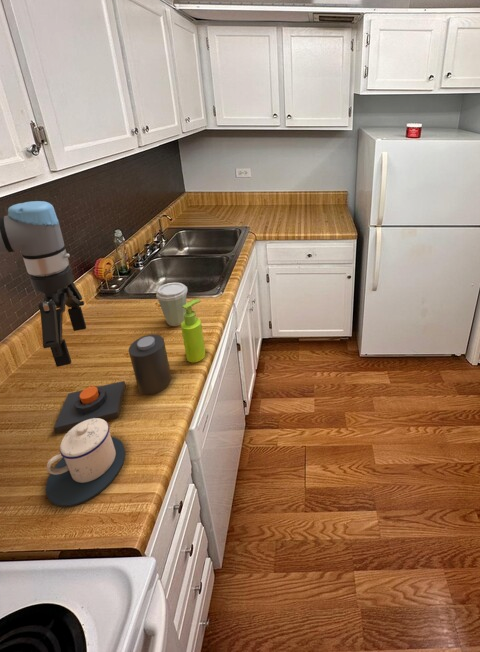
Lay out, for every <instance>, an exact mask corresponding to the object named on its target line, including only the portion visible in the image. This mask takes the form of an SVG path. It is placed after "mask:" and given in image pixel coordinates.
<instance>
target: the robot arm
mask: <svg viewBox="0 0 480 652" xmlns="http://www.w3.org/2000/svg"><path fill="white" fill-rule="evenodd" d="M19 251H20V253H21V255H22V259H23V262H24V265H25V268H26V272H27V274H29V276H28V277H29V281H30V282H31V286H32V289H33V290H34V291H35V292H38V293H42V294H43V295H44V296H43V301H42V302H39V303H38V310H39V312H40V323H41V324H40V325H41V335H42V347H43V349H49V348H50V351H51V354H52V357H53V360H54V363H55V366H56V368H57V367H63V366H68V365H71V364H72V358H71V355H70V351H69V349H68V346H67V343H66V339H65V338H63V325H64V324H63V323H64V322H63V316H64V315H63V313H65V311H66V307H68V309H67V314H68V316H69V319H70V323H71V326H72V330H73V332H76V331H77V332H78V331H83V330H86V329H87V323H86V320H85V317H84V314H83V310H82V306H85V300H83V297H82V294H81V293H80V291H79V289H78V287H77V286H76V284H75V283H74V279H75V277H74V274H73V270H72V267H71V265H70V260H69V258H70V257H71V255H70V253H67V250H66V246H65V241H64V236H63V233H62V230H61V226H60V221H59V219H58V217H57V214H56V210H55V208H54V206H53V204H52V203H50V202H47V201H42V200H35V201H33V200H32V201H25V202H22V203H21V202H19V203H16V204H13V205H11V206H9V207H8V209H7V215H4V216H0V255H3V254H8V253H13V252H19Z"/></svg>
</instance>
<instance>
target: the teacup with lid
mask: <svg viewBox="0 0 480 652" xmlns="http://www.w3.org/2000/svg"><path fill="white" fill-rule="evenodd" d="M111 437H112V436H111V432H110V425H109V423H108V421H105V420H103V419H100V418H92V419H88V420H85V421H83V422H81V423H79V424H77V425H76V426H74V427H73V428H72V429H71V430H68V431H67V433H65V435H64V436H63V438H62V440H61V442H60V445H59V453H57V454H56V455H54V456H52V457H51V458H50V459H48V462H47V463H46V471H47V472H48V473H49V474H54V475H57V474H62V473H64V472H67V471H70V474H71V476H72V478H73V479H74V480H75V481H76V482H80V483H84V482H89V481H92V480H94V479H96V478H98V477H100V476H101V475H102V474H104V473H105V472H106V471H107V470H108V469H109V468H110V466H111V465H112V463H113V461H114V459H115V455H116V451H115V448H114V444H113V441H112V438H111ZM63 457H64V459H65V461H66V464H67V466H64V467H62V468H54V467H53V466H52V465H53V464H55V463H56V462H58V461H60V460H61V459H62V458H63Z"/></svg>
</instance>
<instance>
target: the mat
mask: <svg viewBox="0 0 480 652" xmlns="http://www.w3.org/2000/svg"><path fill="white" fill-rule="evenodd" d="M111 438H112V441H113V444H114V448H115V451H116V455H115V459H114V461H113V463H112V465H111V466H110V468H109V469H108V470H107V471H106V472H105V473H104V474H102V475H101V476H100V477H98V478H96V479H94V480H92V481H89V482H84V483H80V482H76V481H75V480H74V479H73V478H72V476H71V474H70V471H67V472H64V473H62V474H57V475H54V474H51V473H49V476H48V478H47V481H46V483H45V495H46V498H47V499H48V501H49V502H50V503H51V504H52V505H54V506H56V507H61V508H69V507H75V506H79V505H81V504H84V503H87V502H88V501H90V500H91V499H94V498H96V497H97V496H98V495H100V493H102V492H103V491H105V490H106V489H107V488H108V487H110V485H111V484H112V483H113V481H114V480H115V479H116V478H117V476H118V475H119V473H120V472H121V470H122V468H123V466H124V463H125V459H126V448H125V445H124V444H123V442H122V440H120V439H119V438H117V437H115V436H111ZM64 466H67V464H66V461H65V459H64V457H63V458H61V459H59V460H58V461H57V463H56V465H54V467H53V468H62V467H64Z"/></svg>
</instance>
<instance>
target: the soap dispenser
mask: <svg viewBox="0 0 480 652" xmlns="http://www.w3.org/2000/svg"><path fill="white" fill-rule="evenodd" d="M199 303H201V300H200V299H198V298H195V299H192V300H189V301H188V302H186V304H185V305H183V306H182V307H183V308H184V309H186V312H185V313H184V321H183V322H182V323H181V325H180V329H181V333H182V339H183V345H184V351H185V356H186V360H187V362H189V363H198V362H201V361H202V360H203V359H204V358H205V357H206V347H205V340H204V334H203V328H202V327H203V326H202V321H201V319H200V318H199V317H196V315H197V314H196V312H195V311H194V310H193V308H192V307H193V306H195V305H197V304H199Z"/></svg>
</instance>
